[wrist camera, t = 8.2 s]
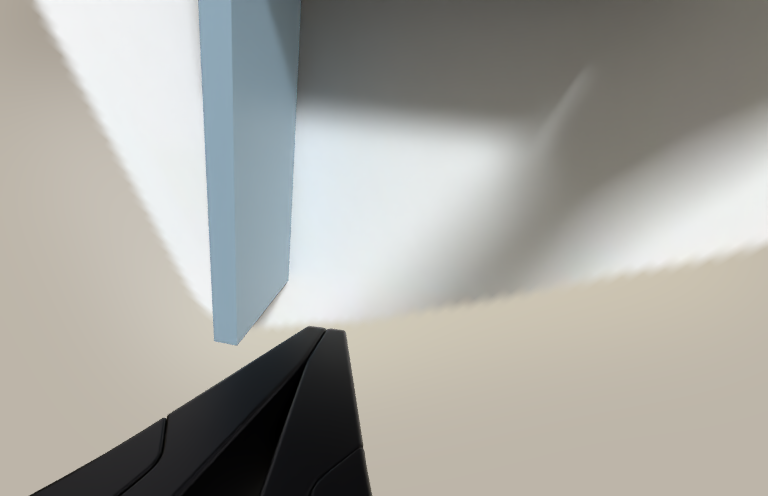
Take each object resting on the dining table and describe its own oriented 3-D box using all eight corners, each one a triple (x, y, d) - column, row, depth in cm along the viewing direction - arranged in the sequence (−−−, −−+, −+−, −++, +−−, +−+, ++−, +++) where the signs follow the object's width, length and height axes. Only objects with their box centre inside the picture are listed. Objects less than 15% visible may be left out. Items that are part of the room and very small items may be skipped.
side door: (290, 280, 21) (239, 346, 15) (261, 275, 21) (200, 338, 15) (304, -27, 15) (232, -100, 10) (265, -33, 15) (171, -107, 10)
